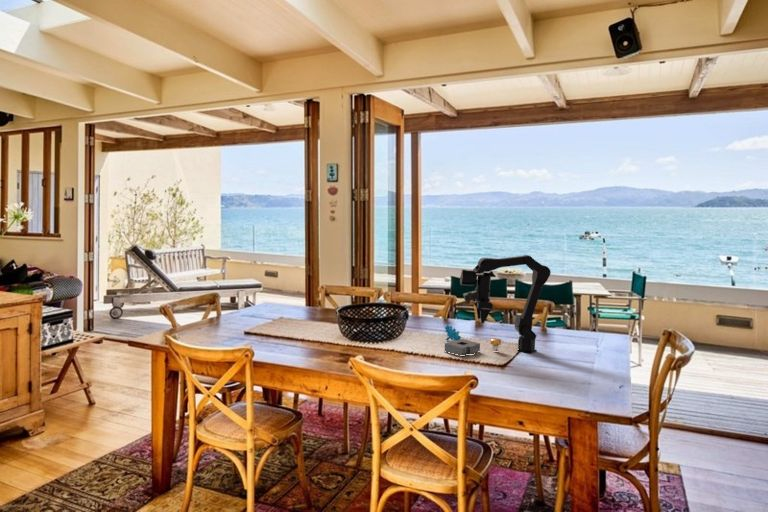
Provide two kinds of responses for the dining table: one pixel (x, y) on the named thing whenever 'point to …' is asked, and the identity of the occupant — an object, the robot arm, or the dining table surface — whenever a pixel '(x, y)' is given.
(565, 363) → the dining table surface
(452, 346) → the block
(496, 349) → the pin
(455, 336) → the blue lobed piece
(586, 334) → the dining table surface
